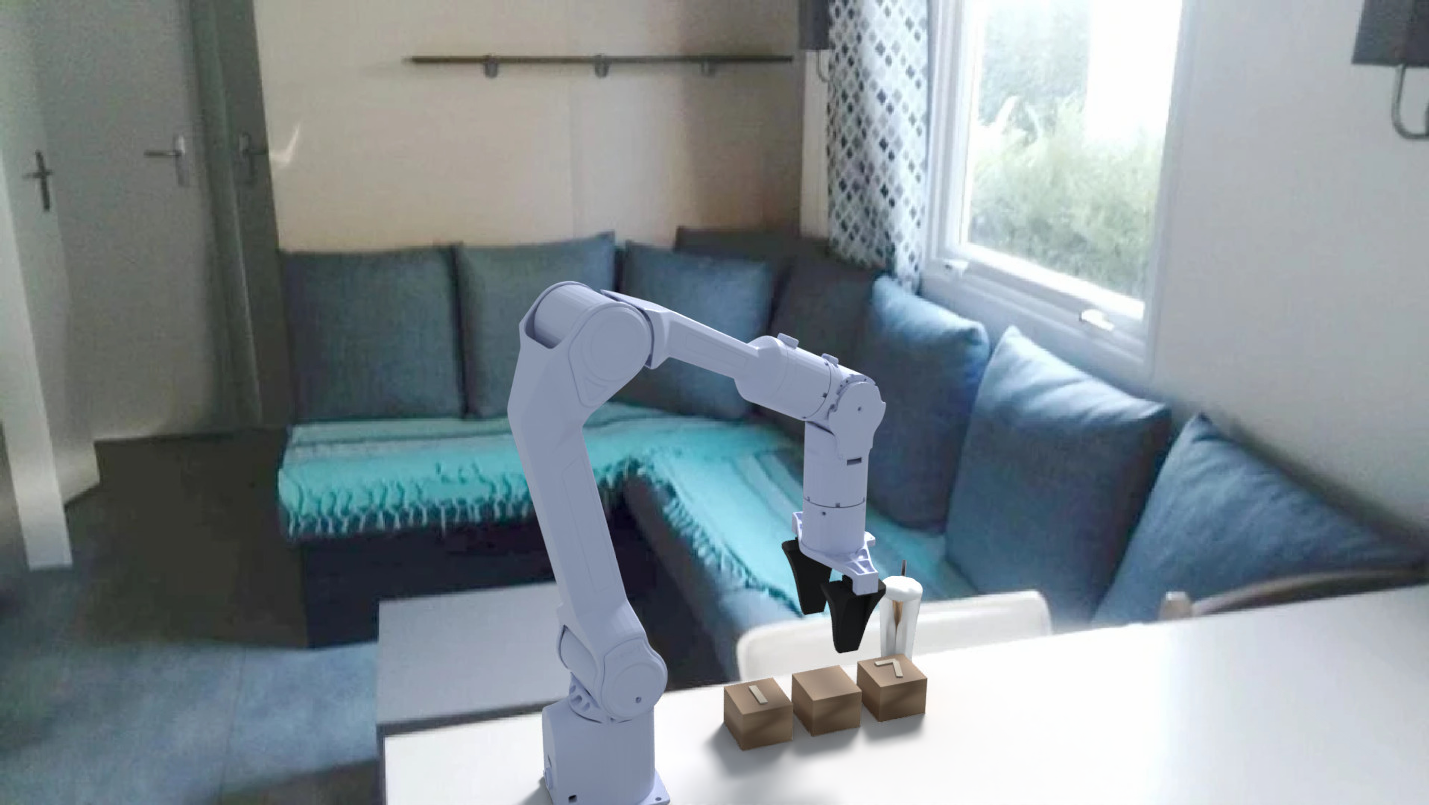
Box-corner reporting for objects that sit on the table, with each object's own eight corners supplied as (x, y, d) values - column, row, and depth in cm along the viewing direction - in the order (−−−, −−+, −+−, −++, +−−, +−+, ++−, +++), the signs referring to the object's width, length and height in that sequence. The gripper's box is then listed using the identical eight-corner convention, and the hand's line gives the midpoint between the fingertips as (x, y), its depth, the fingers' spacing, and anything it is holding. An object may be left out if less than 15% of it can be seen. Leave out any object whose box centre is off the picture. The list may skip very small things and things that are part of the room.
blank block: (812, 738, 108) (813, 700, 106) (790, 709, 112) (791, 673, 111) (860, 728, 109) (861, 691, 108) (837, 700, 114) (838, 665, 112)
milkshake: (921, 647, 124) (926, 562, 120) (915, 672, 119) (921, 584, 116) (878, 641, 125) (883, 557, 122) (871, 665, 120) (876, 578, 117)
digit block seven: (878, 723, 110) (880, 685, 109) (855, 697, 114) (857, 660, 113) (925, 714, 111) (927, 676, 110) (900, 688, 116) (902, 651, 115)
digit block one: (742, 752, 105) (742, 713, 104) (723, 723, 110) (723, 685, 109) (792, 742, 107) (793, 703, 106) (771, 713, 111) (772, 675, 110)
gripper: (913, 520, 98) (904, 661, 102) (840, 464, 111) (835, 590, 116) (838, 531, 96) (832, 674, 100) (773, 472, 109) (770, 601, 113)
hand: (829, 630), depth 108 cm, fingers open, 7 cm apart
